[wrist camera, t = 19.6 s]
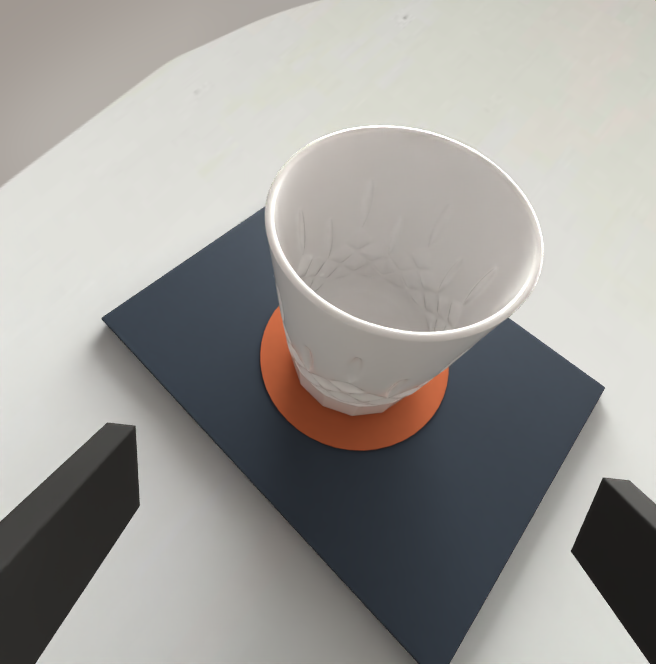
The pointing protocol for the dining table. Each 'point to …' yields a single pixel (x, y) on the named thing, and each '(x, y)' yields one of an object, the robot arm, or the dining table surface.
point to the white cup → (393, 260)
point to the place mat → (367, 440)
